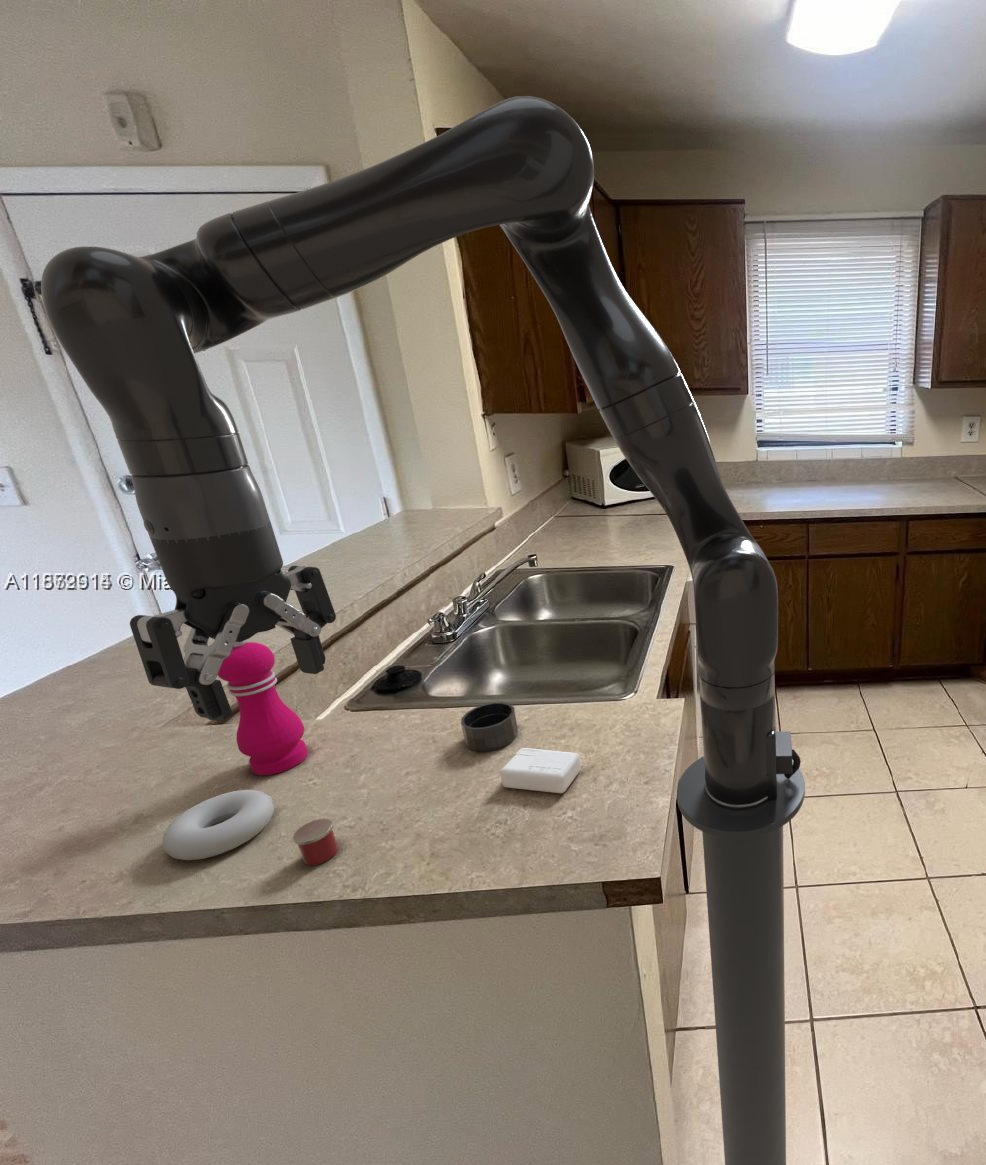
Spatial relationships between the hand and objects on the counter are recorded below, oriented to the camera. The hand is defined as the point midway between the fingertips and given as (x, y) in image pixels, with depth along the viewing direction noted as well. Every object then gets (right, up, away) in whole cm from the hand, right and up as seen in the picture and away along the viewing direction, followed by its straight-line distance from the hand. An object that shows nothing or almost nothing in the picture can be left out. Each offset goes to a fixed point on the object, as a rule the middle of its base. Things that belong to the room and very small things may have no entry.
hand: (270, 693), depth 55 cm
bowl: (+4, -13, +34) cm, 37 cm away
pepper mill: (-24, -16, +30) cm, 41 cm away
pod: (-5, -21, +13) cm, 25 cm away
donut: (-19, -20, +16) cm, 33 cm away
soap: (+15, -17, +25) cm, 34 cm away
